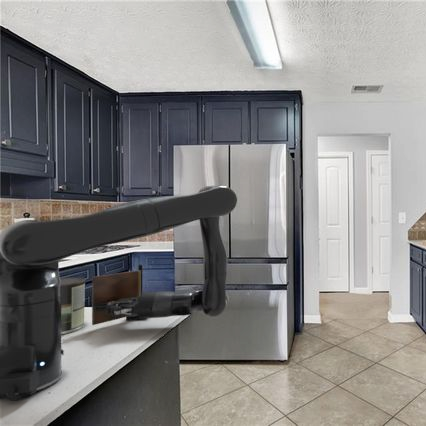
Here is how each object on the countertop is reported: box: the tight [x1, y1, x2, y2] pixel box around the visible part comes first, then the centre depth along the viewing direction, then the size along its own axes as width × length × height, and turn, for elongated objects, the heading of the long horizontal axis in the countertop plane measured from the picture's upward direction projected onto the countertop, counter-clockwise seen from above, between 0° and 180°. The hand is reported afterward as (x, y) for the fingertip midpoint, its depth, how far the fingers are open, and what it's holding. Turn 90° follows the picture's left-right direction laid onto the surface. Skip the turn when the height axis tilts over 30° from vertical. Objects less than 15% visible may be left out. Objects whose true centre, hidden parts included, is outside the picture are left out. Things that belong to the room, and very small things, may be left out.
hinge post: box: [125, 264, 149, 321], centre depth 98 cm, size 5×6×17 cm
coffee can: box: [60, 277, 86, 335], centre depth 88 cm, size 10×10×14 cm
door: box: [91, 269, 141, 326], centre depth 93 cm, size 13×1×14 cm, turn 143°
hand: (94, 307), depth 87 cm, fingers closed
